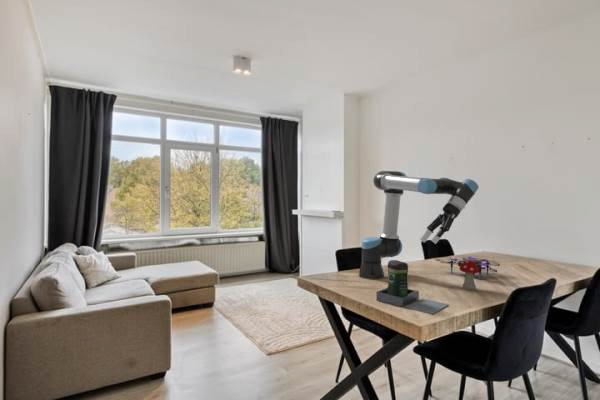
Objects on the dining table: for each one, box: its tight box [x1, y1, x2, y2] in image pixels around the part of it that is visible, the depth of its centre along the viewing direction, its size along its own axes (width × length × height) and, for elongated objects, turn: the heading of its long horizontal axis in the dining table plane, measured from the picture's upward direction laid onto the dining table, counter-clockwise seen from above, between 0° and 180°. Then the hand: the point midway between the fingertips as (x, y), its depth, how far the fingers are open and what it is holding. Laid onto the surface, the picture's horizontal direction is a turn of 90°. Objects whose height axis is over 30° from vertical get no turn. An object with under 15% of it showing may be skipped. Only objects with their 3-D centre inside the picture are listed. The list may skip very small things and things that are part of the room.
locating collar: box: [376, 287, 420, 308], centre depth 156 cm, size 13×15×4 cm
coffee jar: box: [387, 259, 409, 297], centre depth 156 cm, size 10×8×19 cm
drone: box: [434, 256, 501, 281], centre depth 205 cm, size 40×10×28 cm
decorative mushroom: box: [459, 260, 479, 291], centre depth 174 cm, size 10×9×15 cm
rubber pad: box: [405, 298, 450, 315], centre depth 146 cm, size 12×16×1 cm
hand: (427, 241), depth 158 cm, fingers open, 13 cm apart
